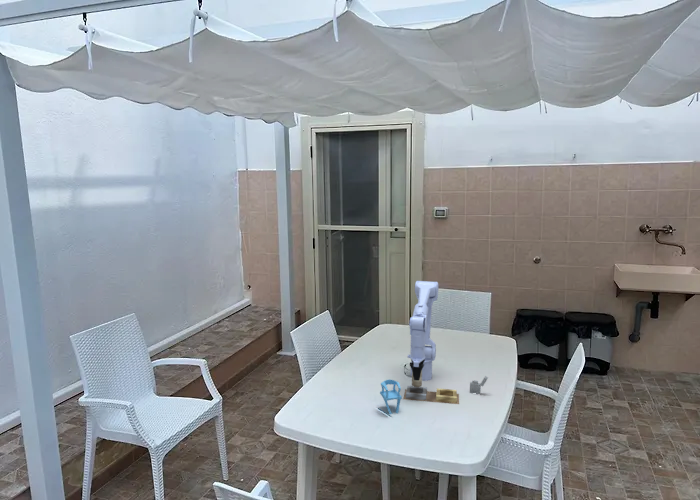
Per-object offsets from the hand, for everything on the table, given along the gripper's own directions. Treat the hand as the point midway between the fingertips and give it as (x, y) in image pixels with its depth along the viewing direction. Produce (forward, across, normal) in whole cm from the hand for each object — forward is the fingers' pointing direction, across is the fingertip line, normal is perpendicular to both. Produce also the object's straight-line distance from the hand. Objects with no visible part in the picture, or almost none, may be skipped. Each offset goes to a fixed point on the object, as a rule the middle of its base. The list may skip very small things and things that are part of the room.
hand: (417, 377), depth 204 cm
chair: (+9, +15, -9) cm, 19 cm away
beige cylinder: (+3, 0, 0) cm, 3 cm away
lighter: (+9, -9, +25) cm, 28 cm away
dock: (+8, 0, +6) cm, 10 cm away
